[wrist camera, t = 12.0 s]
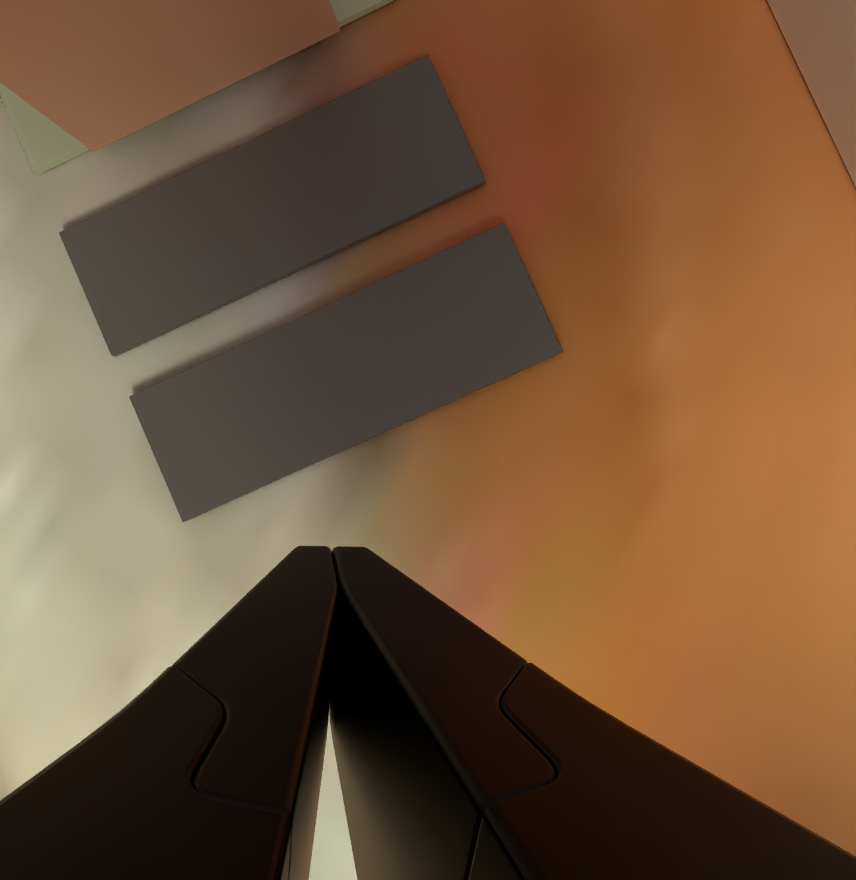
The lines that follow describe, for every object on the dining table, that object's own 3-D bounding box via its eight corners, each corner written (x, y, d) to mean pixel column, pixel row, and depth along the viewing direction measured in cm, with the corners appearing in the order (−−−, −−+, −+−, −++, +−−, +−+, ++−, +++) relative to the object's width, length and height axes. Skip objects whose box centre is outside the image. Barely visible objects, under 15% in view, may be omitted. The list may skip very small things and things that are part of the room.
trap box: (1148, 659, 16) (1436, 752, 11) (47, 1100, 18) (-123, 1349, 13) (562, -566, 18) (589, -968, 13) (-418, -43, 19) (-736, -214, 14)
